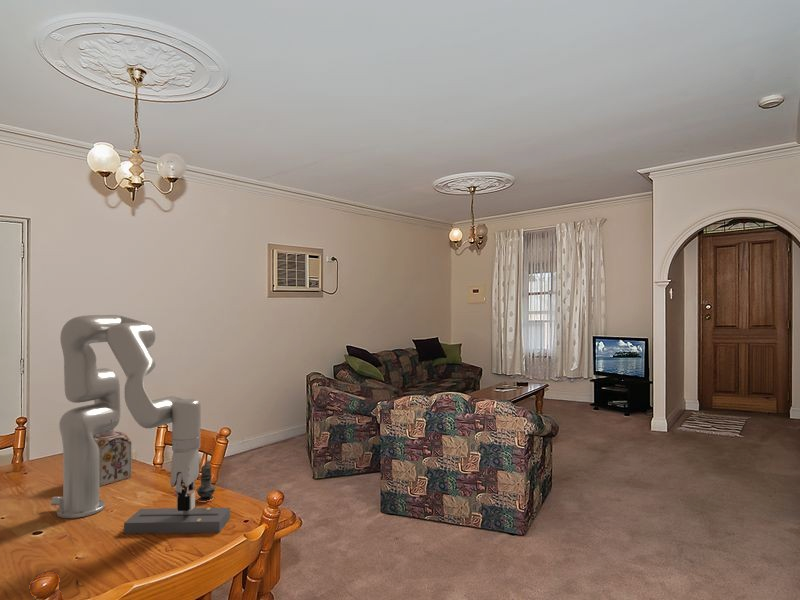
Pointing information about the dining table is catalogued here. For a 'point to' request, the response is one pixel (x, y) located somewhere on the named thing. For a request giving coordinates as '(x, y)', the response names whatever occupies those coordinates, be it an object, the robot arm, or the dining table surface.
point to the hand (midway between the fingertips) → (186, 507)
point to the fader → (192, 501)
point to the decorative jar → (114, 456)
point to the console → (177, 521)
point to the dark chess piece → (205, 484)
